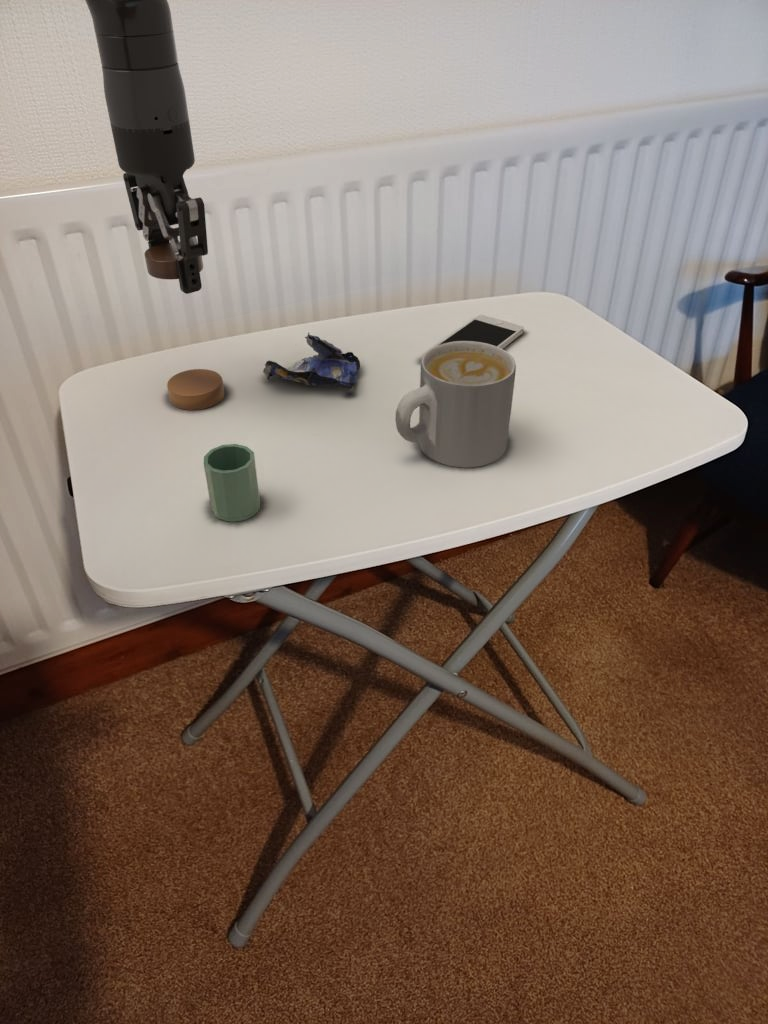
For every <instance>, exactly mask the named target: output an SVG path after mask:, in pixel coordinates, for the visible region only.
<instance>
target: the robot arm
mask: <svg viewBox="0 0 768 1024" xmlns="http://www.w3.org/2000/svg"><path fill="white" fill-rule="evenodd" d="M84 1H85V4H86V5H87V8H88V10H89V14H90V17H91V18H92V23H93V29H94V34H95V39H96V44H97V48H98V49H97V50H98V54H99V58H100V59H99V60H100V63H101V70H102V79H103V82H102V83H103V93H104V98H105V103H106V108H107V113H108V118H109V124H110V128H111V133H112V138H113V143H114V148H115V153H116V156H117V163H118V167H119V168H120V170H122V172H124V173H123V174H122V177H123V182H124V185H125V190H126V194H127V199H128V202H129V206H130V209H131V214H132V217H133V218H132V219H133V222H134V226H135V228H136V230H137V231H142V236H143V238H144V240H145V241H146V242H147V245H148V249H149V248H150V247H152V246H155V245H158V244H162V243H168V242H170V243H171V246H172V249H173V252H174V255H175V257H176V259H175V260H176V266H177V272H178V278H179V279H178V282H179V288H180V291H181V292H182V293H184V294H186V295H189V294H192V293H196V292H199V291H200V290H201V289H202V288H203V287H202V279H201V272H199V265H198V259H197V257H199V256H202V257H203V256H207V255H209V248H208V234H207V222H206V210H205V209H206V208H205V202H204V200H203V198H202V197H200V196H199V197H195V198H192V197H191V196H190V194H189V191H188V188H187V185H186V182H185V178H184V174H185V172H186V171H187V170H190V169H191V168H192V167H193V166H194V164H195V161H196V158H195V152H194V151H195V150H194V146H193V145H194V144H193V139H192V137H193V136H192V131H191V122H190V117H189V109H188V104H187V103H188V102H187V94H186V90H185V85H184V82H183V81H184V80H183V78H182V74H181V70H180V65H179V62H178V61H179V59H178V52H177V45H176V38H175V31H174V25H173V19H172V11H171V7H170V3H169V1H168V0H84ZM176 225H178V226H177V227H175V228H174V227H172V226H176ZM179 242H180V243H179ZM180 245H181V246H180Z"/></svg>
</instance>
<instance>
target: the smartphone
mask: <svg viewBox="0 0 768 1024" xmlns="http://www.w3.org/2000/svg"><path fill="white" fill-rule="evenodd" d="M524 327H525V326H523V325H520V324H516V323H512V322H509V321H507V320H506V321H505V320H502V319H499V318H495V317H492V316H488V315H485V314H479V315H477V316H476V317H474V318H473V319H471V320H470V321H468V322H467V323H466V324H464V325H463V326H461V327H460V328H459V329H457V330H455V331H454V332H453V333H451V334H450V335H448V336H446V337H445V338H444V339H443V340H441V341H440V342H438V343H437V344H436V345H434V346H433V347H435V346H437V345H440V344H444V343H448V342H455V341H474V342H482V343H487V344H490V345H494V346H496V347H499V348H501V349H503V350H504V349H505V348H506V347H507V346H508V345H510V344H511V343H512V342H514V341H515V339H517V338H518V337H520V336H521V335H522V334H523V333H524ZM425 353H426V352H424V353H423V354H422V356H423V355H424V354H425Z"/></svg>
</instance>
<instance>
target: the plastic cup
mask: <svg viewBox="0 0 768 1024" xmlns="http://www.w3.org/2000/svg"><path fill="white" fill-rule="evenodd" d="M203 470H204V474H205V480H206V485H207V491H208V497H209V503H210V509H211V510H212V511H211V512H212V513H213V515H214V516H215V517H216V518H217V519H219V520H221V521H223V522H229V523H230V522H231V523H235V522H243V521H246V520H249V519H251V518H252V517H254V516H255V515H256V514H257V513H258V512H259V511H260V508H261V497H260V496H261V495H260V489H259V482H258V471H257V466H256V457H255V452H254V451H253V450H252V449H251V448H249V447H248V446H246V445H243V444H238V443H230V444H221V445H218V446H217V447H216V446H215V447H214V448H211V449H210V450H208V452H207V453H206V454H205V455H203Z"/></svg>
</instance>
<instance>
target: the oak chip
mask: <svg viewBox="0 0 768 1024" xmlns="http://www.w3.org/2000/svg"><path fill="white" fill-rule="evenodd" d="M166 387H167V392H168V398H169V401H170V403H171V404H172V405H173V406H174V407H176V408H177V409H180V410H187V411H198V410H205V409H207V408H211V407H213V406H216V405H218V404H219V403H220V402H221V401H222V400H223V399H224V397H225V387H224V381H223V377H222V376H221V374H220V373H218V372H217V371H214V370H211V369H205V368H194V369H188V370H184V371H180V372H178V373H176V374H174V375H173V376H172V377H171V378H169V380H168V381H167V384H166Z"/></svg>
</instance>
